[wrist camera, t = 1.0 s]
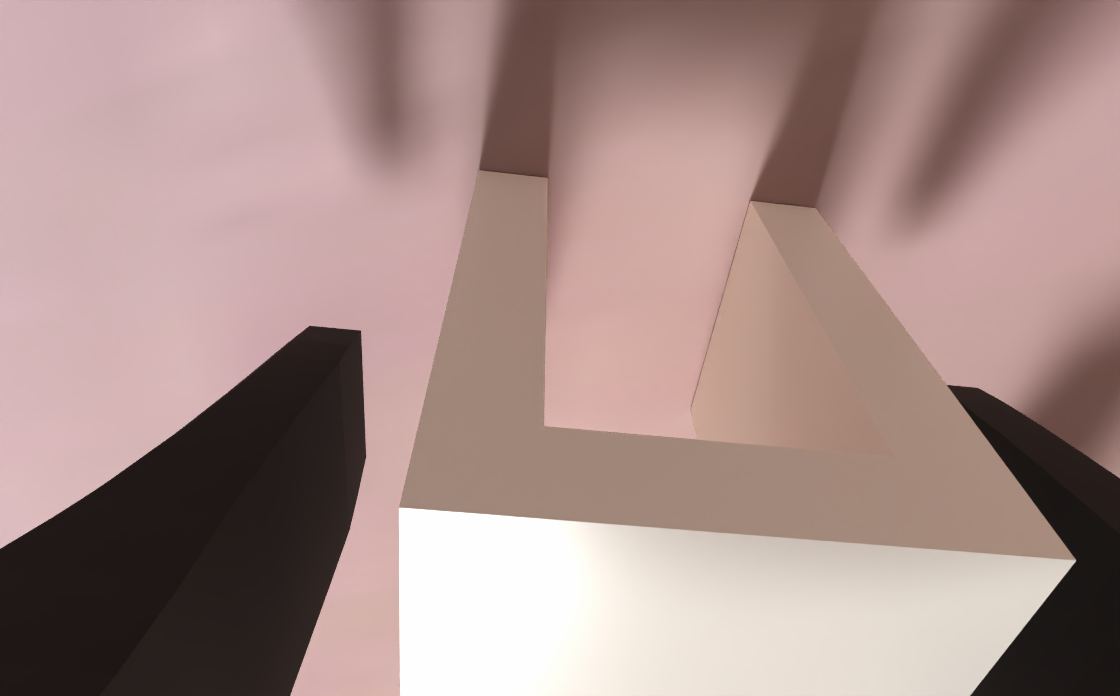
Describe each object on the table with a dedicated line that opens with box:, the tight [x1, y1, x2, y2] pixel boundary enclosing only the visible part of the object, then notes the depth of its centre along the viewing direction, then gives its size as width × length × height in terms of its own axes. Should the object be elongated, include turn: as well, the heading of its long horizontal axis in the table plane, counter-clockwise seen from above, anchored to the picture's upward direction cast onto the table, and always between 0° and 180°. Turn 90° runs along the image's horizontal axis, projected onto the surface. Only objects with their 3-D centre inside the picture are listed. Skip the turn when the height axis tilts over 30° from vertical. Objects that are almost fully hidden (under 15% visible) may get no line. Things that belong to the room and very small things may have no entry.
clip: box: [399, 170, 1076, 696], centre depth 9 cm, size 5×4×6 cm
